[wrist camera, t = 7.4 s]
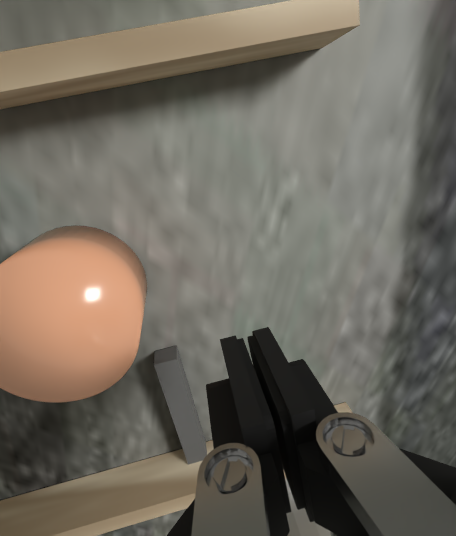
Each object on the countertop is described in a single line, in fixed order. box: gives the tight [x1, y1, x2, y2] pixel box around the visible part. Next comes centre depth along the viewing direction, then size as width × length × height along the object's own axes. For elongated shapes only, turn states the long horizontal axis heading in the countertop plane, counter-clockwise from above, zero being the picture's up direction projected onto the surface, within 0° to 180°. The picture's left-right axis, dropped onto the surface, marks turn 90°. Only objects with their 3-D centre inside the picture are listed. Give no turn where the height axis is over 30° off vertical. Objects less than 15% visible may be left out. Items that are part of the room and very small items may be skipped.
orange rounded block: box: [0, 226, 147, 402], centre depth 14 cm, size 6×6×4 cm
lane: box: [0, 0, 360, 536], centre depth 15 cm, size 22×28×3 cm
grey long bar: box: [154, 346, 207, 465], centre depth 19 cm, size 8×1×1 cm, turn 11°
